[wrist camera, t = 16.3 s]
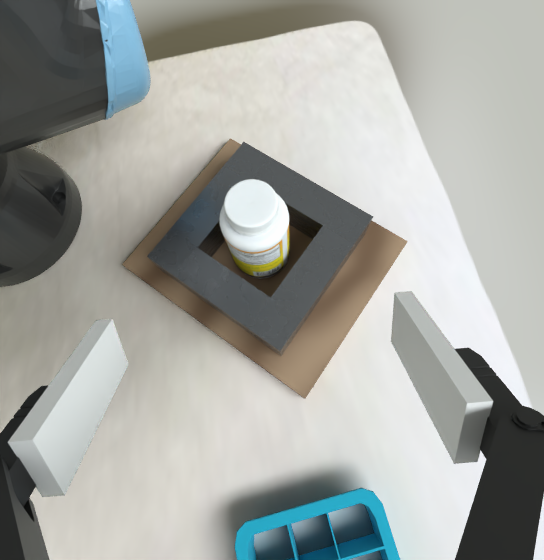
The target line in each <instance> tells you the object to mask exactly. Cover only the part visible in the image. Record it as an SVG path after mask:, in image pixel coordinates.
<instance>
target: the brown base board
mask: <svg viewBox="0 0 544 560" xmlns="http://www.w3.org/2000/svg"><path fill="white" fill-rule="evenodd" d="M240 146H241V144H239V143H237V142H236V141H234V140H232V139H231V138H230V140H229V141H228V142H227V143H226V144H225V145H224V147H223V148H222V149H221V150H220V151H219V152H218V154H217V155H216V156H215V157H214V158H213V159H212V161H211V162H210V163H209V164H208V165H207V166H206V168H205V169H204V170H203V171H202V172H201V173H200V174H199V176H198V177H197V178H196V179H195V180H194V181H193V183H192V184H191V185H190V186H189V187H188V188H187V190H186V191H185V192H184V193H183V194H182V195H181V197H180V198H179V199H178V200H177V201H176V202H175V204H174V205H173V206H172V207H171V208H170V209H169V211H168V212H167V213H166V214H165V215H164V216H163V218H162V219H161V220H160V221H159V222H158V223H157V225H156V226H155V227H154V228H153V229H152V230H151V232H150V233H149V234H148V235H147V236H146V237H145V239H144V240H143V241H142V242H141V243H140V244H139V245H138V247H137V248H136V249H135V250H134V251H133V252H132V254H131V255H130V256H129V257H128V258H127V259H126V261H125V262H124V263H123V264H122V265H123V266H124V267H126V268H127V269H128V270H130V271H131V272H133V273H134V274H135V275H137V276H138V277H139V278H141V279H142V280H143V281H145V282H146V283H148V284H149V285H150V286H152V287H153V288H154V289H156V290H157V291H158V292H160V293H161V294H163V295H164V296H165V297H167V298H168V299H169V300H171V301H172V302H173V303H175V304H176V305H178V306H179V307H180V308H182V309H183V310H184V311H186V312H187V313H189V314H190V315H191V316H193V317H194V318H195V319H197V320H198V321H199V322H201V323H202V324H204V325H205V326H206V327H208V328H209V329H210V330H212V331H213V332H214V333H216V334H217V335H219V336H220V337H221V338H223V339H224V340H225V341H227V342H228V343H230V344H231V345H232V346H234V347H235V348H236V349H238V350H239V351H240V352H242V353H243V354H245V355H246V356H247V357H249V358H250V359H251V360H253V361H254V362H255V363H257V364H258V365H260V366H261V367H262V368H264V369H265V370H266V371H268V372H269V373H270V374H272V375H273V376H275V377H276V378H277V379H279V380H280V381H281V382H283V383H284V384H286V385H287V386H288V387H290V388H291V389H292V390H294V391H295V392H296V393H298V394H299V395H301V396H302V397H303V398H306V397H307V395H308V393H309V392H310V390H311V389H312V387H313V386H314V384H315V383H316V381H317V380H318V378H319V377H320V375H321V374H322V372H323V370H324V369H325V367H326V366H327V364H328V363H329V361H330V360H331V358H332V357H333V355H334V354H335V352H336V351H337V349H338V347H339V346H340V344H341V343H342V341H343V340H344V338H345V337H346V335H347V334H348V332H349V331H350V329H351V328H352V326H353V324H354V323H355V321H356V320H357V318H358V317H359V315H360V314H361V312H362V311H363V309H364V308H365V306H366V304H367V303H368V301H369V300H370V298H371V297H372V295H373V294H374V292H375V291H376V289H377V288H378V286H379V285H380V283H381V281H382V280H383V278H384V277H385V275H386V274H387V272H388V271H389V269H390V268H391V266H392V265H393V263H394V262H395V260H396V258H397V257H398V255H399V254H400V252H401V251H402V249H403V248H404V246H405V245H406V243H407V242H408V241H406V240H404V239H402V238H401V237H399V236H397V235H396V234H394V233H392V232H390V231H389V230H387V229H385V228H383V227H382V226H380V225H378V224H377V223H375V222H373V221H371V223H370V225H369V227H368V229H367V231H366V233H365V235H364V237H363V238H362V240H361V241H360V243H359V244H358V245H357V247H356V248H355V250H354V251H353V253H352V254H351V256H350V257H349V259H348V260H347V261H346V263H345V264H344V266H343V267H342V269H341V270H340V272H339V273H338V275H337V276H336V277H335V279H334V280H333V282H332V283H331V285H330V286H329V288H328V289H327V290H326V292H325V293H324V295H323V296H322V298H321V299H320V301H319V302H318V304H317V305H316V306H315V308H314V309H313V311H312V312H311V314H310V315H309V317H308V318H307V320H306V321H305V322H304V324H303V325H302V327H301V328H300V330H299V331H298V333H297V334H296V335H295V337H294V338H293V340H292V341H291V343H290V344H289V346H288V347H287V349H286V350H285V351H284V353H283V354H282V356H280V355H279V354H278V353H276V352H275V351H273V350H272V349H271V348H269V347H268V346H266V345H265V344H264V343H262V342H261V341H259V340H258V339H257V338H255V337H254V336H252V335H251V334H250V333H248V332H247V331H245V330H244V329H243V328H241V327H240V326H238V325H237V324H236V323H234V322H233V321H231V320H230V319H229V318H227V317H226V316H224V315H223V314H222V313H220V312H219V311H217V310H216V309H215V308H213V307H212V306H210V305H209V304H208V303H206V302H205V301H203V300H202V299H201V298H199V297H198V296H196V295H195V294H194V293H192V292H191V291H189V290H188V289H187V288H185V287H184V286H182V285H181V284H180V283H178V282H177V281H175V280H174V279H173V278H171V277H170V276H168V275H167V274H166V273H164V272H163V271H162V270H161V269H159V268H158V267H157V266H156V265H155V264H154V263H153V262H152V261H151V260H150V259H149V258H148V257H147V256H148V255H149V253H150V252H151V251H152V250H153V249H154V247H155V246H156V245H157V244H158V243H159V242H160V240H161V239H162V238H163V237H164V236H165V234H166V233H167V232H168V231H169V230H170V229H171V227H172V226H173V225H174V224H175V223H176V221H177V220H178V219H179V218H180V217H181V216H182V214H183V213H184V212H185V211H186V210H187V208H188V207H189V206H190V205H191V204H192V203H193V201H194V200H195V199H196V198H197V197H198V195H199V194H200V193H201V192H202V191H203V190H204V188H205V187H206V186H207V185H208V184H209V182H210V181H211V180H212V179H213V178H214V176H215V175H216V174H217V173H218V172H219V171H220V169H221V168H222V167H223V166H224V165H225V163H226V162H227V161H228V160H229V159H230V158H231V156H232V155H233V154H234V153H235V152H236V150H237V149H238V148H239V147H240ZM312 240H313V239H312V238H310V237H308V236H307V235H305V234H304V233H302V232H300V231H299V230H297V229H296V228H294V227H292V226H291V225H289V258H288V261H287V263H286V265H285V266H284V268H283V269H282V270H281V271H280V272H279V273H277V274H276V275H274V276H272V277H269V278H262V279H259V278H253V277H250V276H248V275H246V274H244V273H243V272H242V271H241V270H240V269H239V268H238V267H237V265H236V263H235V262H234V259H233V257H232V255H231V252H230V250H229V247H228V245H227V243H226V241H224V242H223V244H222V245H221V246H220V248H219V249H218V250H217V251H216V253H215V254H214V255H213V256H212V258H213V259H215V260H216V261H218V262H219V263H221V264H222V265H224V266H225V267H227V268H228V269H229V270H231V271H232V272H234V273H235V274H237V275H238V276H240V277H241V278H243V279H244V280H246V281H247V282H249V283H250V284H252V285H253V286H255V287H256V288H258V289H259V290H260V291H262V292H263V293H265V294H266V295H268V296H269V297H271V296H272V295H273V294H274V292H275V291H276V290H277V288H278V287H279V285H280V284H281V283H282V281H283V280H284V279H285V277H286V276H287V274H288V273H289V272H290V270H291V269H292V268H293V266H294V265H295V263H296V262H297V261H298V259H299V258H300V257H301V255H302V254H303V252H304V251H305V250H306V248H307V247H308V246H309V244H310V243H311V241H312Z"/></svg>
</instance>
